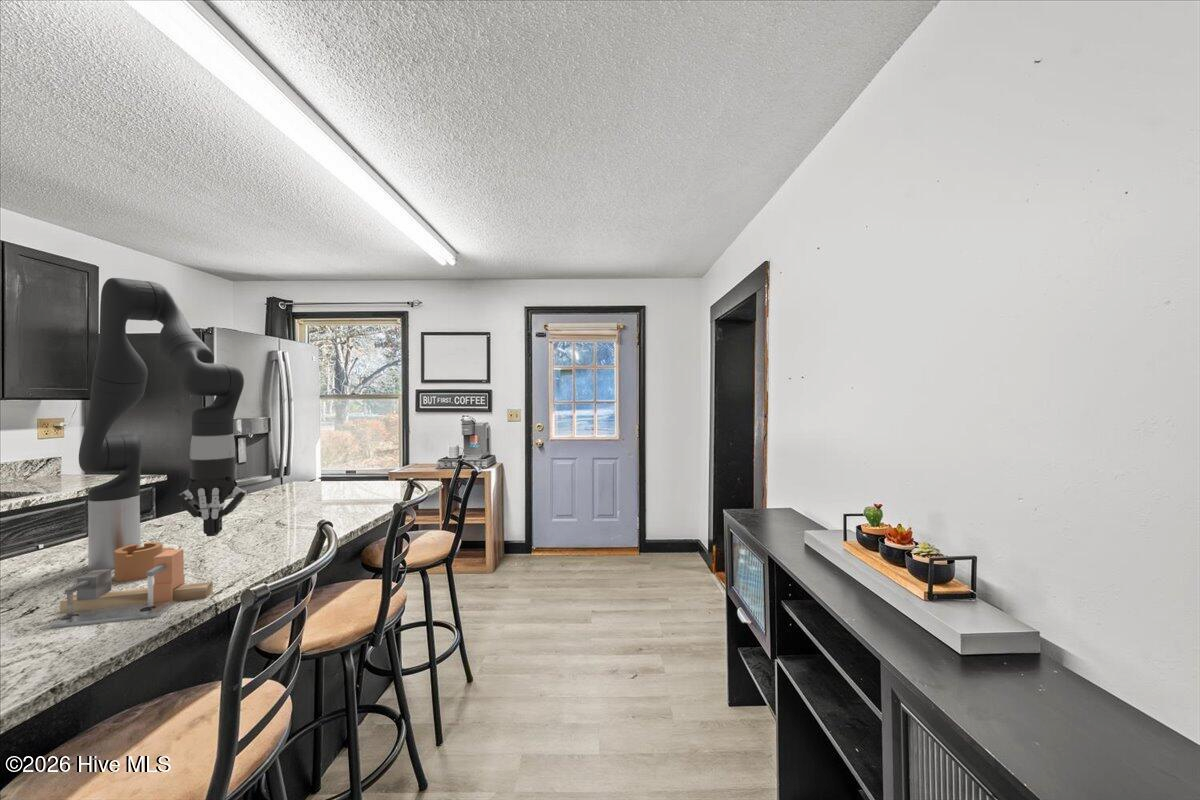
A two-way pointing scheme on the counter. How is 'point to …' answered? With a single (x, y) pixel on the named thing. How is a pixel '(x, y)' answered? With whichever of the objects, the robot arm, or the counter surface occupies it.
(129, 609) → the strip
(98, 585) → the trammel bar
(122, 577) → the bracket
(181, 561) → the block
